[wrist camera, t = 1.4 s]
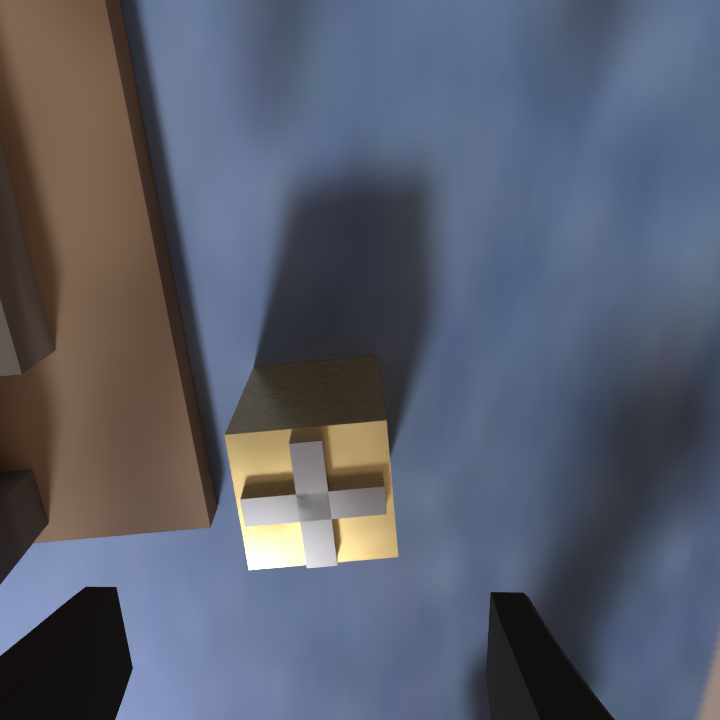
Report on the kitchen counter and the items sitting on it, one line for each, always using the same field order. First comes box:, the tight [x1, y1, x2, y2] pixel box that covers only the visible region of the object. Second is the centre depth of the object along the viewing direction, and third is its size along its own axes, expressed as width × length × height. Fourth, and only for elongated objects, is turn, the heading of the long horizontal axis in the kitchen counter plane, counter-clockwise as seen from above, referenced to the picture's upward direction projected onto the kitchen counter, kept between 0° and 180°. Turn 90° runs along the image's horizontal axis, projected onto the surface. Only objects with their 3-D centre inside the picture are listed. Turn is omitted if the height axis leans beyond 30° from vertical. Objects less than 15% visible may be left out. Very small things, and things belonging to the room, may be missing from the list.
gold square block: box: [225, 355, 398, 570], centre depth 18 cm, size 4×4×5 cm
